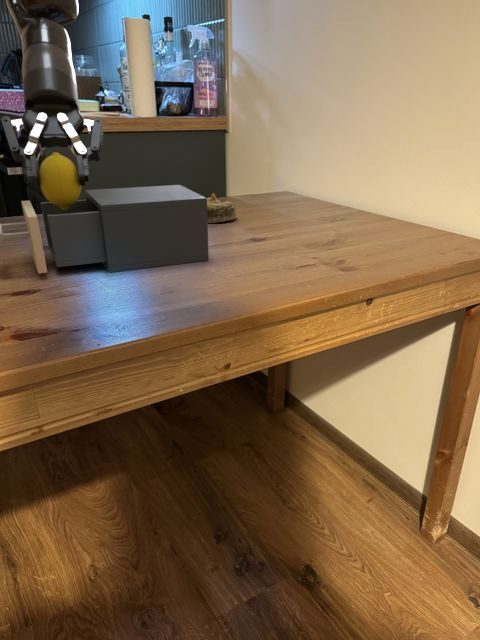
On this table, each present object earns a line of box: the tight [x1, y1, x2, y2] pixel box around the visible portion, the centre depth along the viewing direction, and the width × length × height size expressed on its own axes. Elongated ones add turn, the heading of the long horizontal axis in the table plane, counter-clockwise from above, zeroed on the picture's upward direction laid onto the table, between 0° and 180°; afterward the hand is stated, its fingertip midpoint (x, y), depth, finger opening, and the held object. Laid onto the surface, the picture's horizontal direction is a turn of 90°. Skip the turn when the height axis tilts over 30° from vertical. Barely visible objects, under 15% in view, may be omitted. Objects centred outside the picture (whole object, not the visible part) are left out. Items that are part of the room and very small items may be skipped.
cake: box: [206, 192, 238, 224], centre depth 105 cm, size 10×10×5 cm
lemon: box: [39, 151, 82, 210], centre depth 71 cm, size 6×6×8 cm
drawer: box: [0, 199, 107, 274], centre depth 74 cm, size 19×12×8 cm, turn 117°
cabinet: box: [84, 184, 210, 274], centre depth 80 cm, size 16×13×10 cm
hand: (59, 182), depth 70 cm, fingers closed on lemon, 5 cm apart
